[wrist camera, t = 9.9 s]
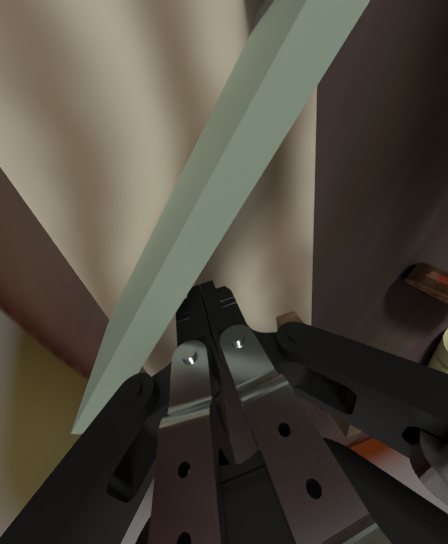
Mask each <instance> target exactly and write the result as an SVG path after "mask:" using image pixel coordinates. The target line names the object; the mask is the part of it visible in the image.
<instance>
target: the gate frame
mask: <svg viewBox="0 0 448 544" xmlns="http://www.w3.org/2000/svg"><path fill="white" fill-rule="evenodd" d="M262 2H263V0H0V167H1V169H2V170H3V171H4V173H5V174H6V176H7V177H8V178H9V180H10V181H11V183H12V184H13V185H14V187H15V188H16V190H17V191H18V192H19V194H20V195H21V197H22V198H23V199H24V201H25V202H26V204H27V205H28V206H29V208H30V209H31V211H32V212H33V213H34V215H35V216H36V218H37V219H38V220H39V222H40V223H41V225H42V226H43V227H44V229H45V230H46V232H47V233H48V234H49V236H50V237H51V239H52V240H53V241H54V243H55V244H56V246H57V247H58V248H59V250H60V251H61V253H62V254H63V255H64V257H65V258H66V260H67V261H68V262H69V264H70V265H71V267H72V268H73V269H74V271H75V272H76V274H77V275H78V276H79V278H80V279H81V281H82V282H83V283H84V285H85V286H86V288H87V289H88V290H89V292H90V293H91V295H92V296H93V297H94V299H95V300H96V302H97V303H98V304H99V306H100V307H101V309H102V310H103V311H104V313H105V314H106V316H107V317H108V318H109V320H110V317H111V314H112V312H113V310H114V308H115V306H116V304H117V302H118V300H119V298H120V296H121V294H122V292H123V290H124V288H125V286H126V284H127V282H128V280H129V278H130V276H131V274H132V272H133V270H134V268H135V266H136V264H137V262H138V260H139V258H140V256H141V254H142V252H143V250H144V248H145V246H146V244H147V242H148V240H149V238H150V236H151V234H152V232H153V230H154V228H155V226H156V224H157V222H158V220H159V217H160V215H161V213H162V211H163V209H164V207H165V205H166V203H167V201H168V199H169V197H170V195H171V193H172V191H173V189H174V187H175V185H176V183H177V181H178V179H179V177H180V175H181V173H182V171H183V169H184V167H185V165H186V163H187V161H188V159H189V157H190V155H191V153H192V151H193V149H194V147H195V145H196V143H197V141H198V139H199V137H200V135H201V133H202V131H203V129H204V127H205V125H206V123H207V121H208V119H209V116H210V114H211V112H212V110H213V108H214V106H215V104H216V102H217V100H218V98H219V96H220V94H221V92H222V90H223V88H224V86H225V84H226V82H227V80H228V78H229V76H230V74H231V72H232V70H233V68H234V66H235V64H236V62H237V60H238V58H239V56H240V54H241V52H242V50H243V48H244V46H245V44H246V42H247V40H248V38H249V36H250V34H251V32H252V31H253V29H254V17H255V14H256V11H257V10H258V8H259V6H260V5H261V3H262ZM316 105H317V87H316V88H315V90H314V91H313V93H312V95H311V96H310V98H309V99H308V101H307V103H306V104H305V106H304V107H303V109H302V111H301V112H300V114H299V116H298V117H297V119H296V120H295V122H294V124H293V125H292V127H291V128H290V130H289V132H288V133H287V135H286V136H285V138H284V140H283V141H282V143H281V144H280V146H279V148H278V149H277V151H276V152H275V154H274V156H273V157H272V159H271V161H270V162H269V164H268V165H267V167H266V169H265V170H264V172H263V173H262V175H261V177H260V178H259V180H258V181H257V183H256V185H255V186H254V188H253V189H252V191H251V193H250V194H249V196H248V197H247V199H246V201H245V202H244V204H243V206H242V207H241V209H240V210H239V212H238V214H237V215H236V217H235V218H234V220H233V222H232V223H231V225H230V226H229V228H228V230H227V231H226V233H225V234H224V236H223V238H222V239H221V241H220V242H219V244H218V246H217V247H216V249H215V251H214V252H213V254H212V255H211V257H210V259H209V260H208V262H207V263H206V265H205V267H204V268H203V270H202V271H201V273H200V275H199V276H198V278H197V279H196V281H195V283H194V284H193V286H195V285H198V284H199V285H200V284H201V283H204V282H207V281H211V280H213V282H214V285H215V288H219V287H222V286H226V287H227V288H229V289H230V290H231V291H232V293H233V295H234V298H235V299H236V302H237V304H238V306H239V308H240V310H241V312H242V315H243V317H244V319H245V321H246V323H247V325H248V326H249V327H250V328H251V329H253V330H255V331H258V332H263V333H268V332H277V330H278V328H279V327H280V326H281V325H283V324H284V323H287V322H292V321H296V322H301V323H304V324H307V325H310V326H311V309H312V268H313V228H314V187H315V146H316ZM200 288H201V287H200ZM185 298H187V296H186V297H185ZM176 349H177V332H176V313H175V315H174V316H173V318H172V320H171V321H170V323H169V324H168V326H167V328H166V329H165V331H164V333H163V334H162V336H161V337H160V339H159V341H158V342H157V344H156V345H155V347H154V349H153V350H152V352H151V353H150V355H149V357H148V358H147V360H146V361H145V363H144V365H143V368H144V369H145V370H146V372H147V373H148V374H149V375H150V376H151V377H152V376H153V375H155V374H156V373H158V372H159V371H161V370H162V369H164V368H165V367H166V366H167V365H168V364H170V362H171V361H172V356H173V354H174V352H175V350H176ZM220 358H221V357H220ZM331 415H332V414H331ZM332 416H333V418H334V420H335V421H336V423H337V424H338V426H339V427H340V429H341V430H342V432H343V434H344V435H345V437H346V438H348V437H350V436H353V435H355V434H357V433H360V432H362V431H361V430H359V429H357V428H355V427H354V426H352V425H350V424H348V423H346V422H345V421H343V420H341V419H339V418H338V417H336V416H334V415H332Z"/></svg>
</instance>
